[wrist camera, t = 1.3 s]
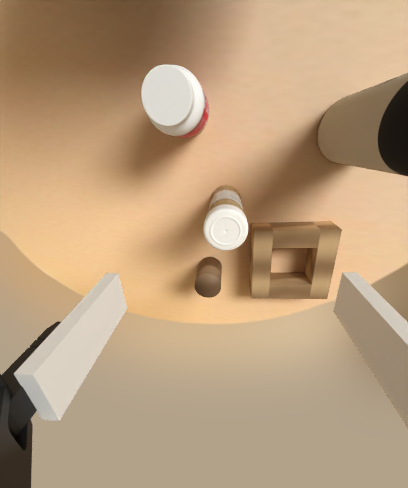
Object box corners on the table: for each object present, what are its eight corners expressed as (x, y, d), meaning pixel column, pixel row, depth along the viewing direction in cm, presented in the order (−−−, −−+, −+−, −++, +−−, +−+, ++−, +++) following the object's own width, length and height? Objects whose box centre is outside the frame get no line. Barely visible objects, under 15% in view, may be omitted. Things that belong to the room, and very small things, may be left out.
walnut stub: (198, 257, 39) (193, 275, 33) (221, 256, 38) (220, 275, 33) (200, 276, 40) (195, 297, 35) (221, 276, 40) (221, 297, 34)
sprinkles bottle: (227, 219, 35) (228, 260, 23) (205, 202, 34) (193, 234, 22) (247, 196, 33) (258, 228, 21) (223, 178, 33) (222, 199, 20)
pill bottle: (219, 115, 29) (215, 101, 19) (185, 147, 31) (165, 150, 21) (188, 71, 28) (167, 32, 18) (154, 108, 30) (118, 91, 20)
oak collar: (251, 223, 35) (254, 231, 32) (330, 221, 34) (341, 229, 31) (249, 285, 40) (251, 298, 37) (318, 286, 39) (327, 298, 36)
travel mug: (362, 169, 30) (517, 200, 14) (306, 155, 30) (398, 170, 14) (396, 103, 27) (653, 44, 11) (333, 87, 27) (498, 2, 11)
